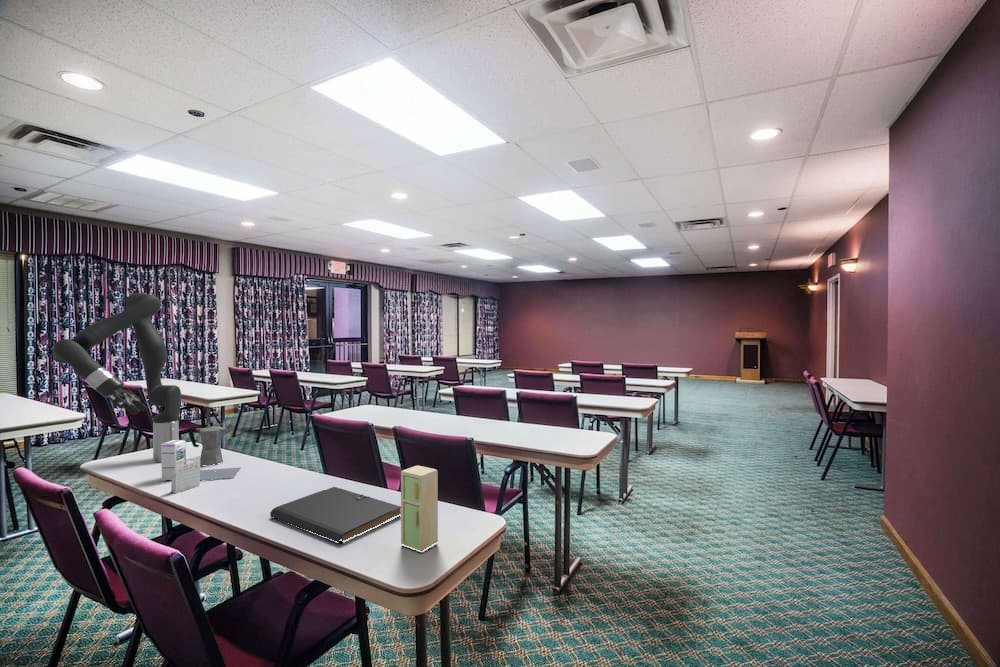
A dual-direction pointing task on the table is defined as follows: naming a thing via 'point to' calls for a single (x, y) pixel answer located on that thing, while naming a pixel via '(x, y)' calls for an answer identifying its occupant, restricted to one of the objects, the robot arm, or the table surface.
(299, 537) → the table surface
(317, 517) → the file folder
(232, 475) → the mat
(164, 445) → the syrup box
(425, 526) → the toy refrigerator
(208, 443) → the coffeepot
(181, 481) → the ink box
